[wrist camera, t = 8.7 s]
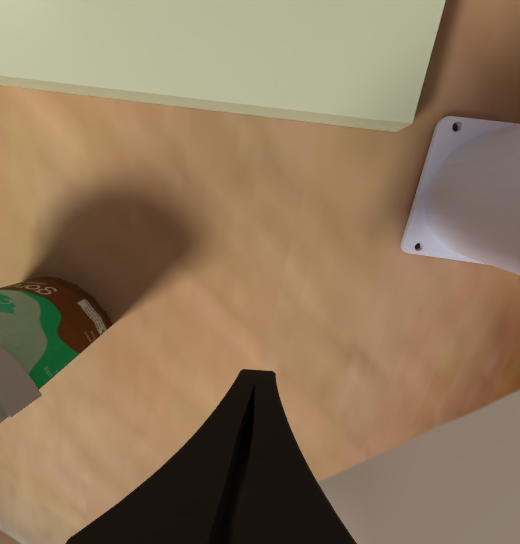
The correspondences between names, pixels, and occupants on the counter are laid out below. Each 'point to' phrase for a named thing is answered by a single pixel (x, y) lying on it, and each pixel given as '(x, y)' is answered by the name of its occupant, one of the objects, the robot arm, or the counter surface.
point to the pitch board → (230, 54)
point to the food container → (42, 336)
